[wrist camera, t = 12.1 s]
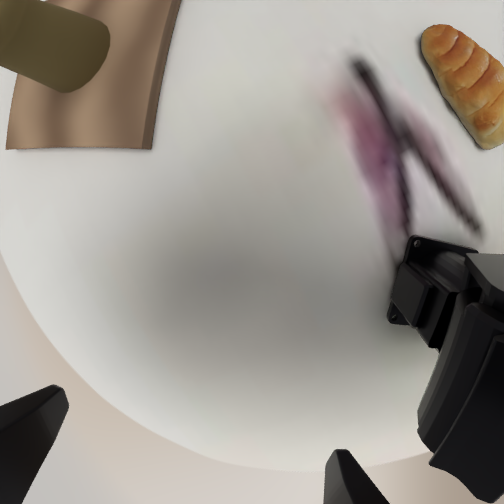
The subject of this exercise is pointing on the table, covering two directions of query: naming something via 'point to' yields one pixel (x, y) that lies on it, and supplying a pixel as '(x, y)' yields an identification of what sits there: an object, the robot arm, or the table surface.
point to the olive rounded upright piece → (51, 43)
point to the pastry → (468, 82)
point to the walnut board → (102, 84)
